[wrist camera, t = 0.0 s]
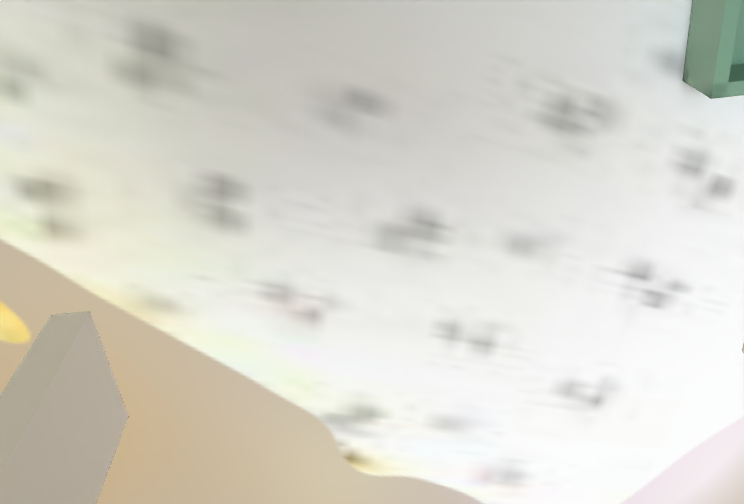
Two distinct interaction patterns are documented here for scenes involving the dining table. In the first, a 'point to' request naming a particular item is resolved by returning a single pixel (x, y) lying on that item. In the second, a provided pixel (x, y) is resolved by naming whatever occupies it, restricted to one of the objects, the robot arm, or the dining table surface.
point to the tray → (716, 48)
